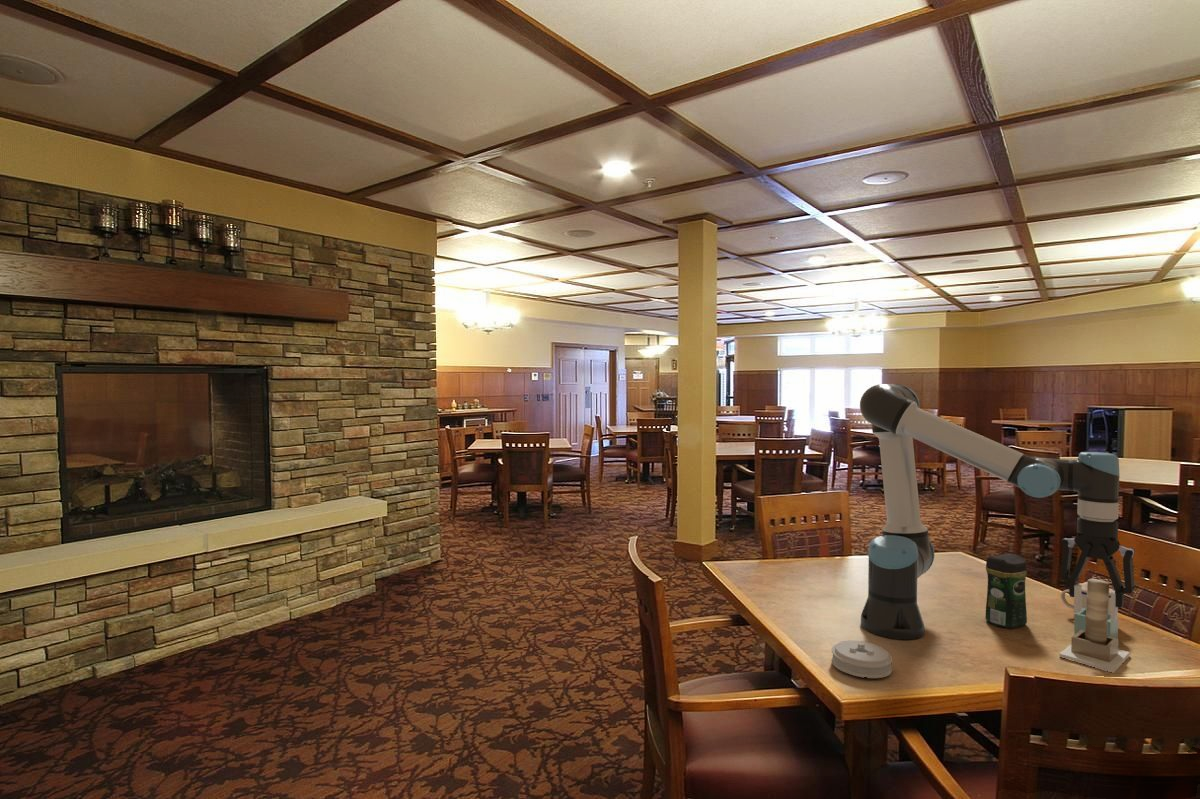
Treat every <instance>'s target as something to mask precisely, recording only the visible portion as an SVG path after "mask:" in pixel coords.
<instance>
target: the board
mask: <svg viewBox="0 0 1200 799" xmlns="http://www.w3.org/2000/svg"><path fill="white" fill-rule="evenodd" d="M1130 653H1131V652H1130V651H1126V650H1123V649H1119V648H1118V655H1117V656H1116V657H1115V658H1114V659H1113V660H1112V661H1111V662H1106V661H1103V660H1099V659H1096V658H1092V657H1088V656H1085V655H1081V654H1078V653H1074V652H1071V644H1069V645H1068V646H1067V647H1065V649H1063V650H1062V651H1060V653H1059V656H1060V657H1063V658H1067V659H1071V660H1074V661H1077V662H1081V663H1083V664H1087V665H1090V666H1092V667H1091V668H1093V667H1095V668H1094V669H1097V668H1099V669H1098V670H1100V669H1101V671H1104V672H1107V671H1108V672H1107V673H1110V672H1112V673H1111V674H1114V673H1115V672H1116V671H1117V670H1118V669H1119V668H1120V667H1121V666H1122V665H1123V664H1124V662H1126V661H1125V660H1126V659H1127V660H1128V659H1129V658H1130ZM1122 663H1123V664H1122ZM1083 664H1082V665H1083ZM1090 666H1089V667H1090Z"/></svg>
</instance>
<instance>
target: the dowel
mask: <svg viewBox="0 0 1200 799" xmlns="http://www.w3.org/2000/svg"><path fill="white" fill-rule="evenodd" d="M1087 582H1088V583H1087V603H1086V623H1085V640H1089V641H1092V642H1096V643H1100V644H1104V645H1106V641H1107V622H1108V602H1109V588H1110V582H1108V581H1106V580H1102V579H1097V578H1089V579H1087Z"/></svg>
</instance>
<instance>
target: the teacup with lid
mask: <svg viewBox="0 0 1200 799" xmlns="http://www.w3.org/2000/svg"><path fill="white" fill-rule="evenodd" d="M1087 583H1088V581H1085V582H1083V583H1080V584H1082V593H1081V609H1082V608H1086V603H1087ZM1113 591H1115V590H1113V589H1112V588H1110V587H1109V602H1108V613H1109V614H1111V593H1112V592H1113ZM1066 593H1069V588H1068V589H1064V590H1063V591H1061V593H1060V598H1061V601H1062V603H1063V604H1064V606H1066V607H1067V608H1069V609H1073V610H1074V604H1073V605H1072V604H1071V603H1069V602H1068V600H1067V599H1066ZM1074 618H1075V612H1074V611H1073V619H1074Z"/></svg>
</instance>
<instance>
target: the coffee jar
mask: <svg viewBox="0 0 1200 799" xmlns="http://www.w3.org/2000/svg"><path fill="white" fill-rule="evenodd" d="M985 560H986V561H985V562H986V564H985V570H986V574H987V591H986V592H987V593H986V604H985V620H986V621H987V622H989V624H991V625H992V626H996V627H1001V628H1007V629H1015V628H1020V627H1023V626H1026V625H1027V623H1028V617H1027V615H1028V614H1027V597H1026V579H1027V578H1026V577H1027V574H1028V567H1027V566H1028V565H1027V561H1026V559H1025V558H1024V556H1021V555H1017V554H1013V553H1009V552H1008V553H1006V554H1000V555H989V556H988V557H986V559H985Z"/></svg>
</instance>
